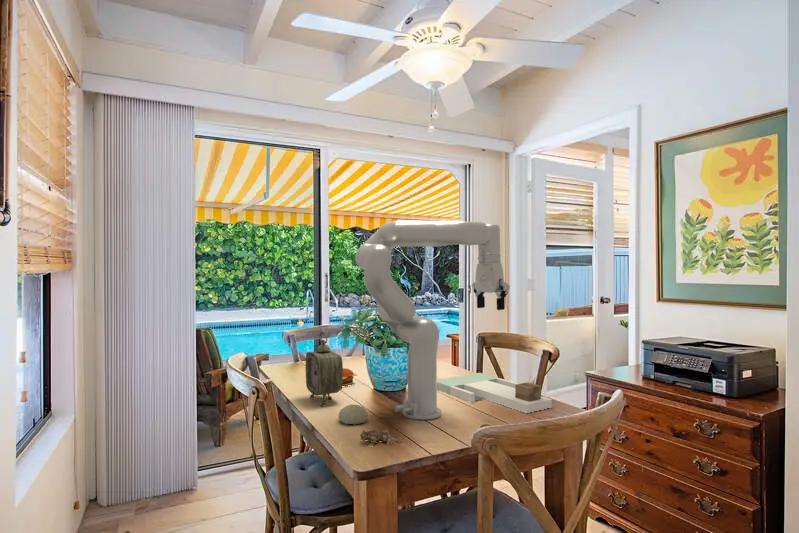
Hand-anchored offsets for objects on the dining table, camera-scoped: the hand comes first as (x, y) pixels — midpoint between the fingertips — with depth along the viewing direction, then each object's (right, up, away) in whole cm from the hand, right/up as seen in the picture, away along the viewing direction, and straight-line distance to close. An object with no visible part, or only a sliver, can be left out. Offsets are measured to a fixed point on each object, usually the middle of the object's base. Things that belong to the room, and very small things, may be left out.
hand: (490, 308), depth 171 cm
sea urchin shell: (-46, -34, -17) cm, 60 cm away
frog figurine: (-38, -35, -34) cm, 62 cm away
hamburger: (-55, -34, +29) cm, 71 cm away
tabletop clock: (-59, -34, +5) cm, 68 cm away
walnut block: (+12, -30, -3) cm, 33 cm away
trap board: (+3, -33, +11) cm, 35 cm away
